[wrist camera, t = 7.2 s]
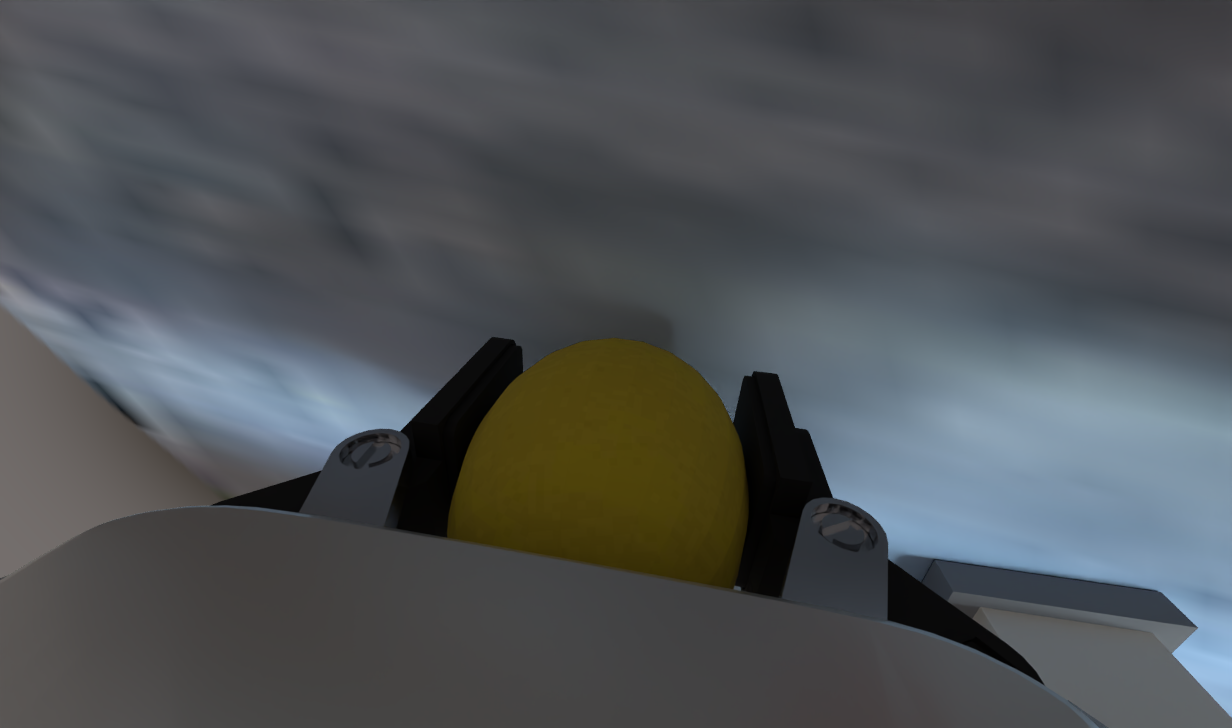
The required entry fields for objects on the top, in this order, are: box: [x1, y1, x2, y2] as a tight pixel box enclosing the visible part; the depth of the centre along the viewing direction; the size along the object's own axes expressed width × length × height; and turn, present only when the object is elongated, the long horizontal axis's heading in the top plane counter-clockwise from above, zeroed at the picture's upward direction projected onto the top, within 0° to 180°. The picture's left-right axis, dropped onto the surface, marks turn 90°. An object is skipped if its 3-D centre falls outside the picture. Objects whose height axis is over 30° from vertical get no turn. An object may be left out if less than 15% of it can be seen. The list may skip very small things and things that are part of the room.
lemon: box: [447, 338, 749, 589], centre depth 9 cm, size 6×6×8 cm
